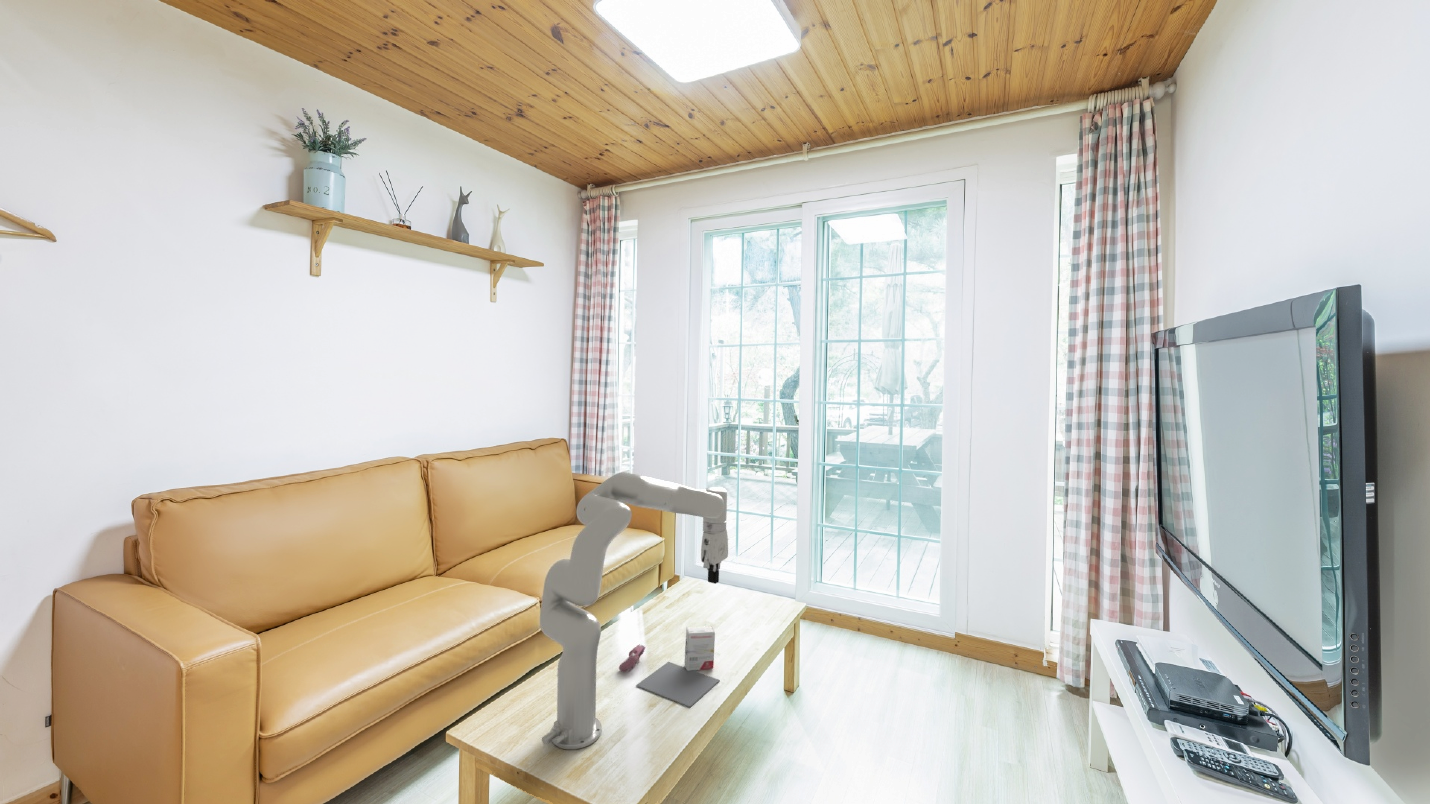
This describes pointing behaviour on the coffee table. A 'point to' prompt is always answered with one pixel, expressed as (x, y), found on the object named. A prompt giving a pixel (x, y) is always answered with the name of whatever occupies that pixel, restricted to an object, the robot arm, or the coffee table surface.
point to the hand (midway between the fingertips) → (713, 582)
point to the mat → (678, 684)
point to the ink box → (699, 648)
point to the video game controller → (632, 658)
